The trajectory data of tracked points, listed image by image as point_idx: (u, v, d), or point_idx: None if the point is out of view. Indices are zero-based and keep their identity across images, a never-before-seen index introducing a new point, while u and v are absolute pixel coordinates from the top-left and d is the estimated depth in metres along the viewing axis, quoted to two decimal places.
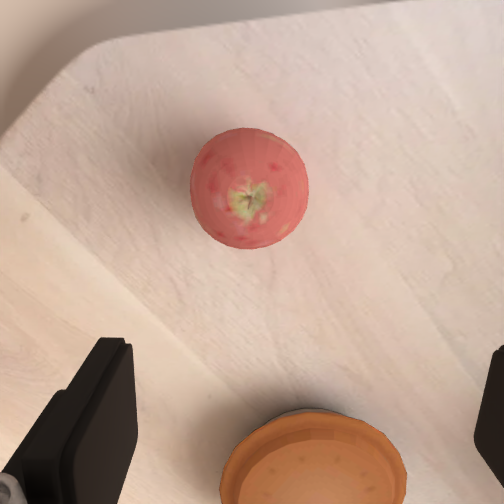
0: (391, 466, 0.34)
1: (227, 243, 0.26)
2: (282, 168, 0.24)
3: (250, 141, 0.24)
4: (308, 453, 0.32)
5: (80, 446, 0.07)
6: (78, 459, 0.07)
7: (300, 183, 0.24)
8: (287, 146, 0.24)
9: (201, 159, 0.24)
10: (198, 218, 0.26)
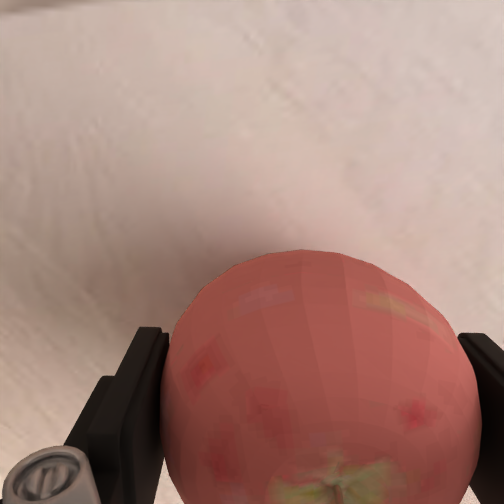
0: None
1: None
2: (436, 414, 0.08)
3: (336, 327, 0.08)
4: None
5: (136, 423, 0.08)
6: (134, 435, 0.08)
7: (476, 437, 0.08)
8: (436, 324, 0.08)
9: (186, 360, 0.08)
10: (181, 497, 0.10)
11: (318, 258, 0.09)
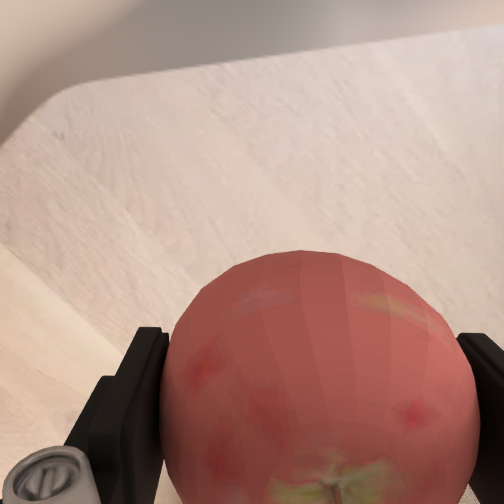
0: None
1: None
2: (435, 414, 0.08)
3: (335, 328, 0.08)
4: None
5: (136, 423, 0.08)
6: (135, 435, 0.08)
7: (475, 437, 0.08)
8: (434, 324, 0.08)
9: (185, 360, 0.08)
10: (180, 497, 0.10)
11: (317, 259, 0.09)
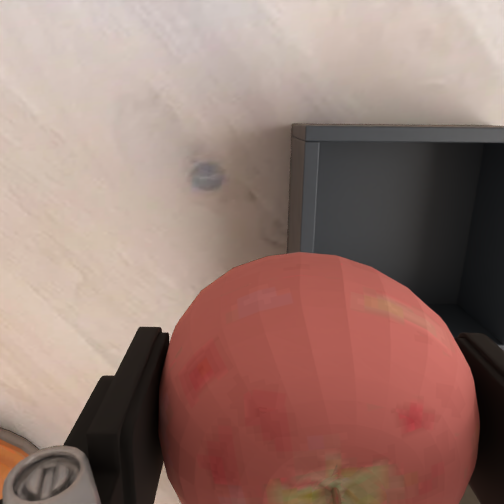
0: None
1: None
2: (435, 417, 0.08)
3: (334, 330, 0.08)
4: None
5: (136, 423, 0.08)
6: (135, 435, 0.08)
7: (474, 440, 0.08)
8: (434, 327, 0.08)
9: (185, 363, 0.08)
10: (180, 499, 0.10)
11: (316, 261, 0.09)
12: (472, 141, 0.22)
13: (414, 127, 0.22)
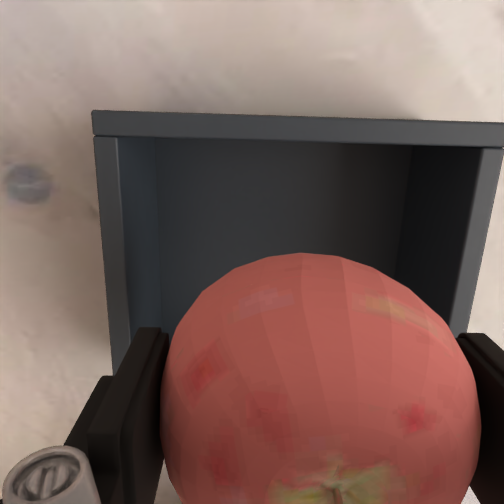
0: None
1: None
2: (436, 418, 0.08)
3: (336, 331, 0.08)
4: None
5: (136, 423, 0.08)
6: (135, 435, 0.08)
7: (475, 441, 0.08)
8: (435, 327, 0.08)
9: (186, 363, 0.08)
10: (181, 499, 0.10)
11: (318, 261, 0.09)
12: (363, 141, 0.14)
13: (268, 116, 0.14)
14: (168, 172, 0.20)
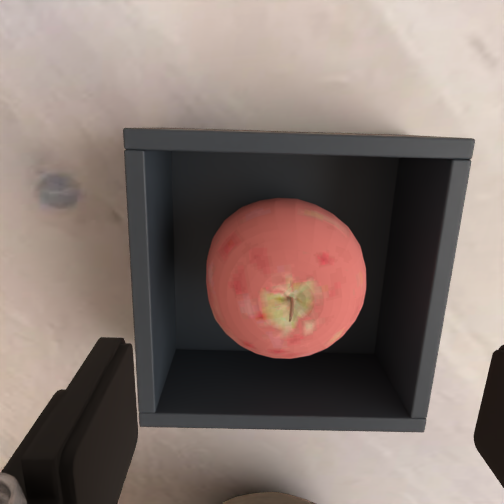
0: None
1: (257, 353, 0.19)
2: (334, 259, 0.17)
3: (289, 222, 0.17)
4: None
5: (80, 446, 0.07)
6: (78, 459, 0.07)
7: (358, 277, 0.18)
8: (339, 225, 0.18)
9: (220, 244, 0.18)
10: (217, 320, 0.19)
11: (284, 198, 0.19)
12: (351, 154, 0.16)
13: (270, 133, 0.16)
14: (182, 180, 0.23)
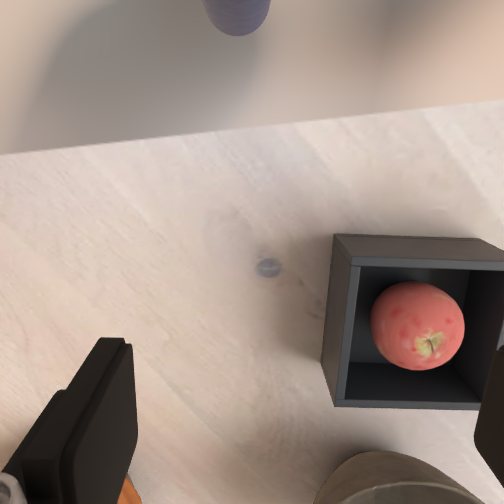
0: (124, 495, 0.42)
1: (403, 367, 0.35)
2: (453, 321, 0.33)
3: (429, 301, 0.33)
4: None
5: (80, 446, 0.07)
6: (78, 459, 0.07)
7: (462, 328, 0.34)
8: (452, 301, 0.34)
9: (390, 310, 0.34)
10: (383, 349, 0.35)
11: (420, 284, 0.35)
12: (464, 268, 0.32)
13: (425, 259, 0.32)
14: None
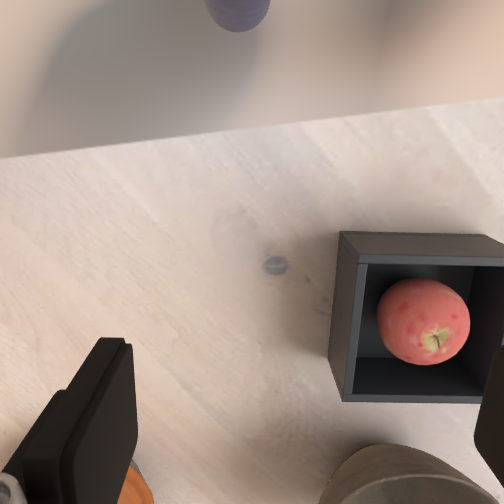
0: (136, 489, 0.43)
1: (410, 362, 0.36)
2: (459, 316, 0.33)
3: (436, 297, 0.34)
4: None
5: (80, 446, 0.07)
6: (78, 459, 0.07)
7: (468, 324, 0.34)
8: (458, 297, 0.34)
9: (396, 307, 0.34)
10: (389, 345, 0.35)
11: (426, 280, 0.35)
12: (469, 265, 0.33)
13: (431, 256, 0.33)
14: None
